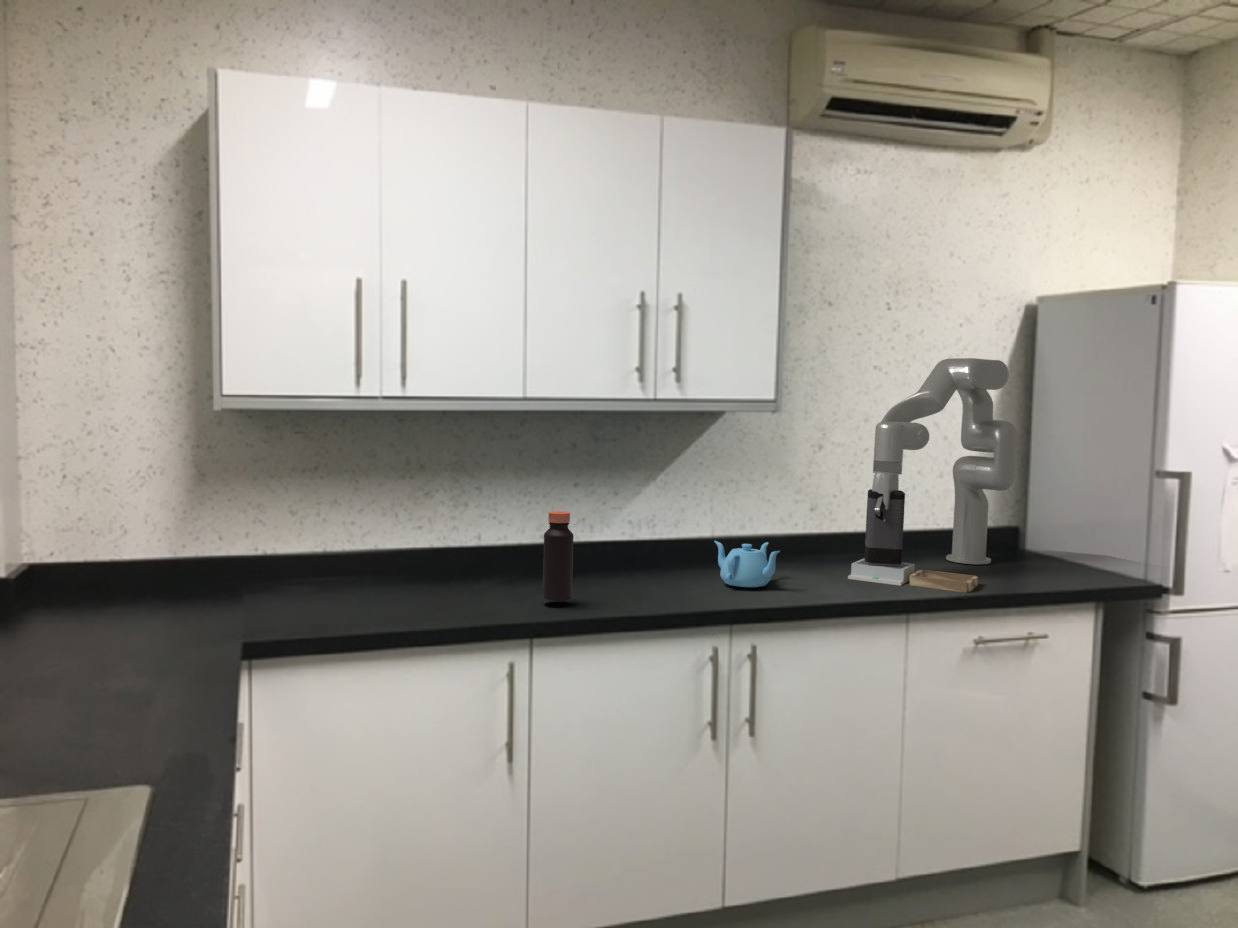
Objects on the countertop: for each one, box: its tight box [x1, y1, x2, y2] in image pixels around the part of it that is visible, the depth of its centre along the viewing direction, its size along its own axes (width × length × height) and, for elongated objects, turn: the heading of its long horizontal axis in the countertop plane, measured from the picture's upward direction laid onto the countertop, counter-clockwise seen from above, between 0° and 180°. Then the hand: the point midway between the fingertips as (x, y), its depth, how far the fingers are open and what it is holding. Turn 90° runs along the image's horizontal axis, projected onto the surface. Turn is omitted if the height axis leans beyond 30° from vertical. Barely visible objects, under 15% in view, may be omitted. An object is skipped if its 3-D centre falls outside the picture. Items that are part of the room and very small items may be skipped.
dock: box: [847, 557, 916, 587], centre depth 251 cm, size 16×14×4 cm
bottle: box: [542, 510, 574, 602], centre depth 213 cm, size 7×7×20 cm
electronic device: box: [863, 488, 906, 567], centre depth 249 cm, size 9×6×20 cm, turn 83°
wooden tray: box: [908, 569, 979, 593], centre depth 242 cm, size 12×15×2 cm
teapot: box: [713, 540, 781, 588], centre depth 237 cm, size 15×15×10 cm
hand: (883, 534), depth 250 cm, fingers open, 5 cm apart
